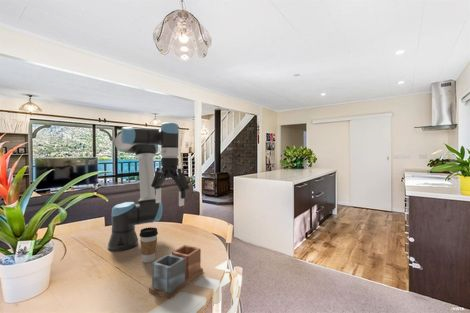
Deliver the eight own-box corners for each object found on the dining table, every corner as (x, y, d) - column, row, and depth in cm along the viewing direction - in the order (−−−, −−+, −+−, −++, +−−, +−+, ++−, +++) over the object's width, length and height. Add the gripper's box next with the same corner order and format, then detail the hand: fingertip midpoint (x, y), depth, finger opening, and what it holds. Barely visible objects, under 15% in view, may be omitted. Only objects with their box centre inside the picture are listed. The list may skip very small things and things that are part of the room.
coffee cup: (146, 265, 104) (146, 233, 104) (135, 260, 109) (135, 229, 109) (161, 258, 111) (161, 228, 111) (150, 254, 116) (150, 225, 116)
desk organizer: (148, 291, 85) (148, 263, 84) (184, 266, 103) (184, 243, 103) (169, 299, 80) (169, 269, 80) (203, 271, 99) (203, 248, 99)
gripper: (143, 157, 105) (143, 202, 105) (186, 157, 93) (186, 209, 94) (155, 156, 111) (155, 199, 112) (197, 157, 100) (197, 205, 100)
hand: (169, 204), depth 103 cm, fingers open, 13 cm apart
